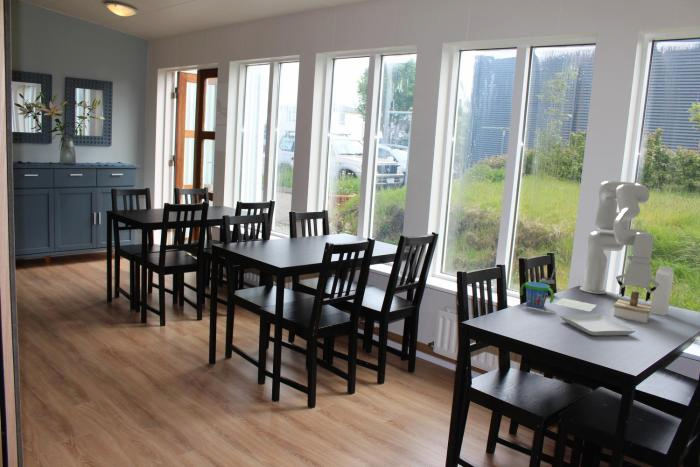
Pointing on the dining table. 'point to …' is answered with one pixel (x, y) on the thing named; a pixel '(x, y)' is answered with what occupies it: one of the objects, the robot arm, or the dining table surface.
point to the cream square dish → (632, 315)
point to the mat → (575, 304)
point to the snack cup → (536, 293)
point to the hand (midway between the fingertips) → (634, 298)
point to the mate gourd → (549, 282)
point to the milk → (662, 291)
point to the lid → (633, 304)
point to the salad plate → (597, 324)
